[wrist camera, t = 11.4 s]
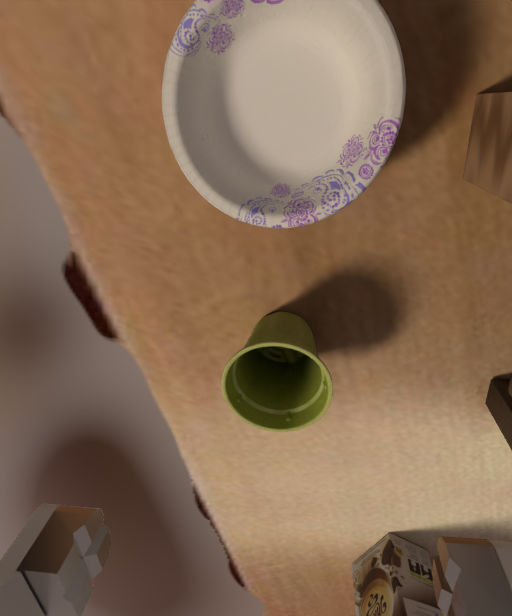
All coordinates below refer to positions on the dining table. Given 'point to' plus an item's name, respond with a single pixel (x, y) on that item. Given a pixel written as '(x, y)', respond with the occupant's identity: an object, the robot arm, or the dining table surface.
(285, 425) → the plant pot
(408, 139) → the dining table surface
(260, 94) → the paper bowls
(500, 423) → the metal shaft with collar
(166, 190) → the dining table surface
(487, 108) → the block
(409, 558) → the coffee box
